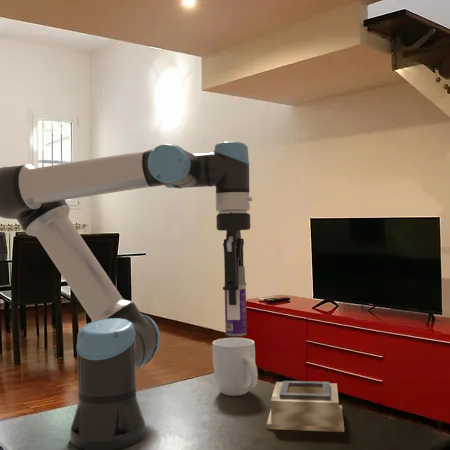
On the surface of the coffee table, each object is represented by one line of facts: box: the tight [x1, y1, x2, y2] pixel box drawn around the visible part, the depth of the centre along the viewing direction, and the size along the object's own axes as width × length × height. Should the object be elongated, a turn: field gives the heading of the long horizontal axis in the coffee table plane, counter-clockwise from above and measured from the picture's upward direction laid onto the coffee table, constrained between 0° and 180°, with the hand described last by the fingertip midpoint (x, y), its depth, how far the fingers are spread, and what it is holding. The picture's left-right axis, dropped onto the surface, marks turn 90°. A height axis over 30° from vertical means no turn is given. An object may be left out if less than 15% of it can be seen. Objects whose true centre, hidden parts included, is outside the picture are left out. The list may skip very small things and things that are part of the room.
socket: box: [266, 380, 345, 433], centre depth 123 cm, size 16×14×7 cm
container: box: [224, 265, 248, 337], centre depth 123 cm, size 5×5×15 cm
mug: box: [212, 337, 259, 397], centre depth 142 cm, size 15×11×13 cm
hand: (235, 317), depth 123 cm, fingers closed on container, 5 cm apart
